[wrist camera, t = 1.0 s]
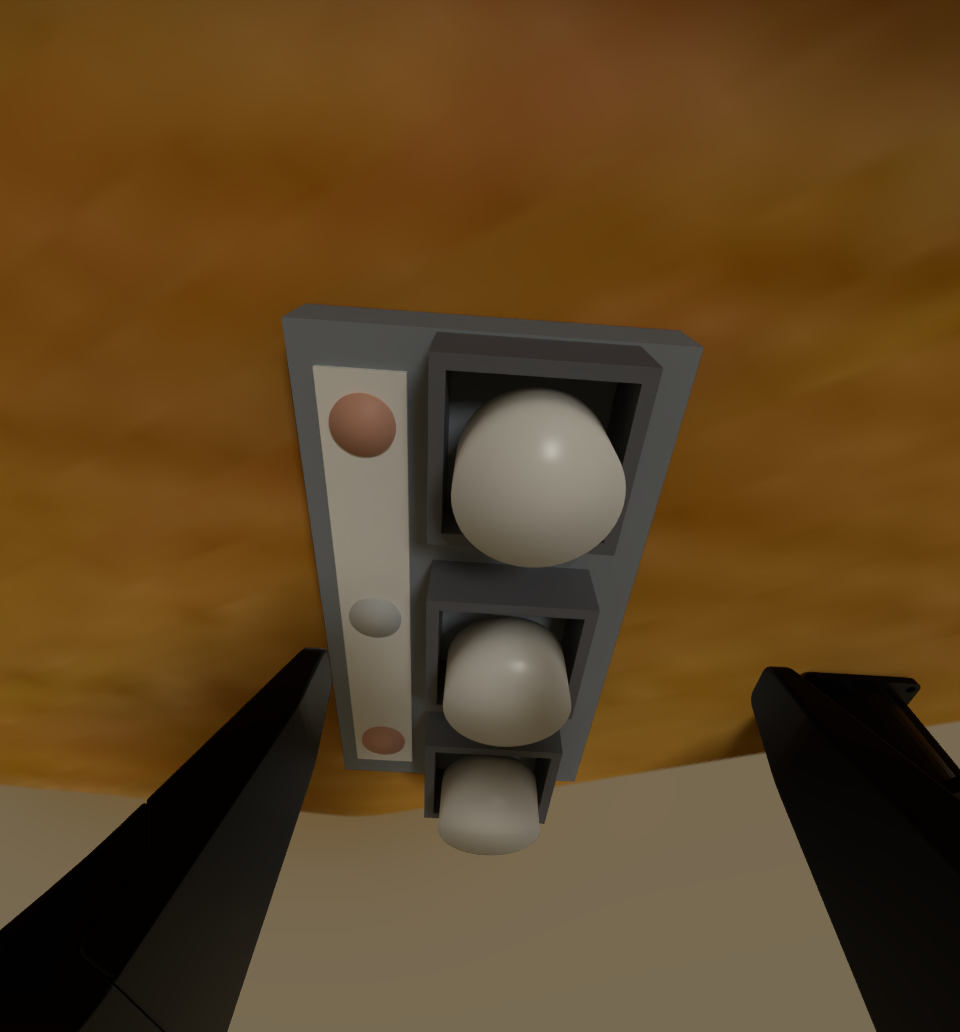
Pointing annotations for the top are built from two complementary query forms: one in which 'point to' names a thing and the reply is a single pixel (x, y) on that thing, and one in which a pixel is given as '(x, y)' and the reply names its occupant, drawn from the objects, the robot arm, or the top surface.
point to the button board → (432, 525)
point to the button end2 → (489, 805)
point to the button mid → (506, 682)
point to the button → (536, 478)
